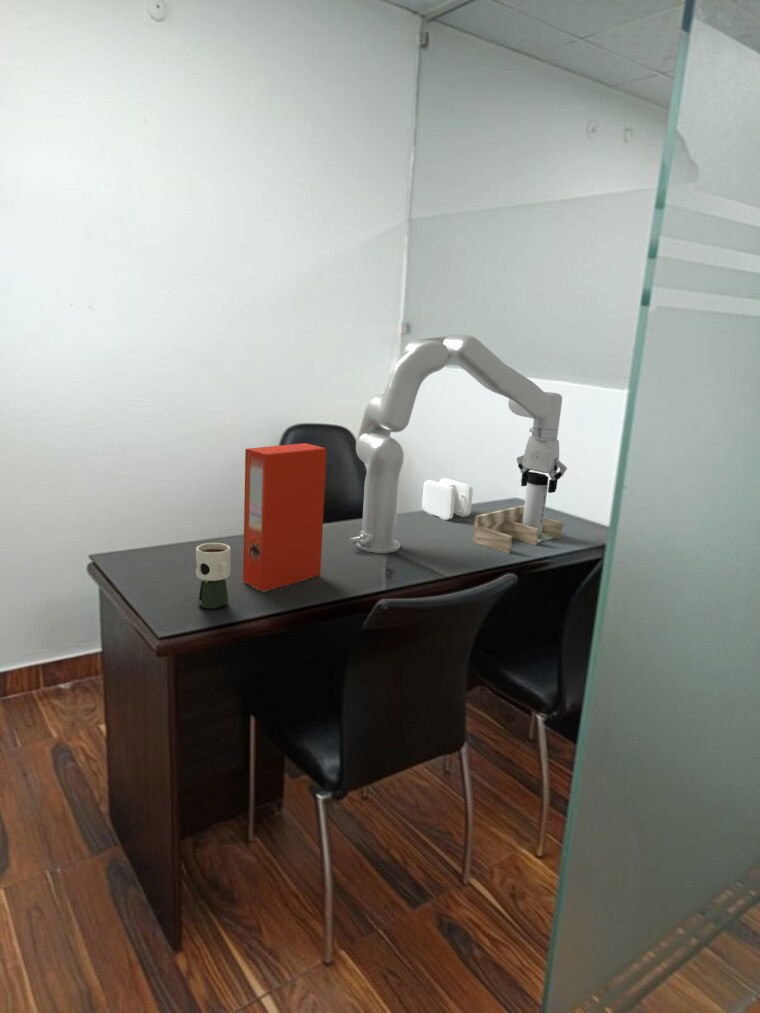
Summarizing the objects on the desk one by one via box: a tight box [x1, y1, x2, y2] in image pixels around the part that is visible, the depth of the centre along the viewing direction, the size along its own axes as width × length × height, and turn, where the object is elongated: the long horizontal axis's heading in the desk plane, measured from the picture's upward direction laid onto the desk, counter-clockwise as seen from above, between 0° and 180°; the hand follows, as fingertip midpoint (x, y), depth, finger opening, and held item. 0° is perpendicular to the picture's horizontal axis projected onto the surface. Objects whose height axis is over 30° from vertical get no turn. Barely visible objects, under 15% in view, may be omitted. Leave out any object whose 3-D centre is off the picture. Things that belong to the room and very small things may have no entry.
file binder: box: [242, 442, 327, 591], centre depth 157 cm, size 8×17×32 cm, turn 136°
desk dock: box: [472, 504, 564, 554], centre depth 204 cm, size 28×13×8 cm, turn 134°
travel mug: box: [522, 471, 549, 537], centre depth 207 cm, size 6×7×20 cm
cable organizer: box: [421, 477, 473, 521], centre depth 227 cm, size 15×11×12 cm
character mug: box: [195, 542, 232, 609], centre depth 142 cm, size 11×7×13 cm, turn 41°
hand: (537, 489), depth 206 cm, fingers open, 9 cm apart
